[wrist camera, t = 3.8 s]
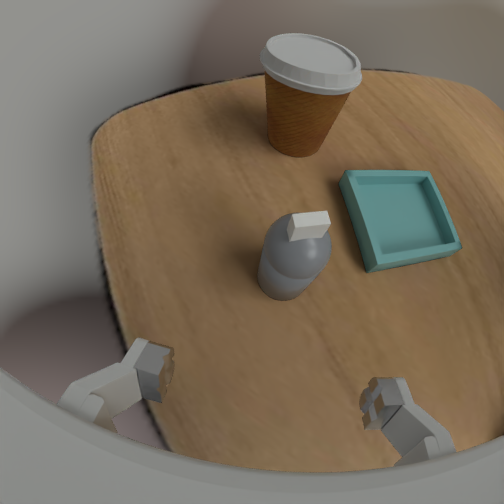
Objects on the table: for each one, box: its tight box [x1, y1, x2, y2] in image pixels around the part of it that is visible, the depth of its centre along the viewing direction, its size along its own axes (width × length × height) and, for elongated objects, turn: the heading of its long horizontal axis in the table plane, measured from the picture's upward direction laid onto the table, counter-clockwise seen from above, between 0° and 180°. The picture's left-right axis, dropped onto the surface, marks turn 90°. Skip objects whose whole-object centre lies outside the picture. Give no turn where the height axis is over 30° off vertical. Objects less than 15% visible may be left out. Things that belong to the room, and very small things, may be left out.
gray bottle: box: [257, 211, 331, 301], centre depth 19 cm, size 4×4×10 cm
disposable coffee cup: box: [260, 33, 362, 157], centre depth 25 cm, size 10×10×12 cm
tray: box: [339, 170, 462, 273], centre depth 26 cm, size 12×10×2 cm
